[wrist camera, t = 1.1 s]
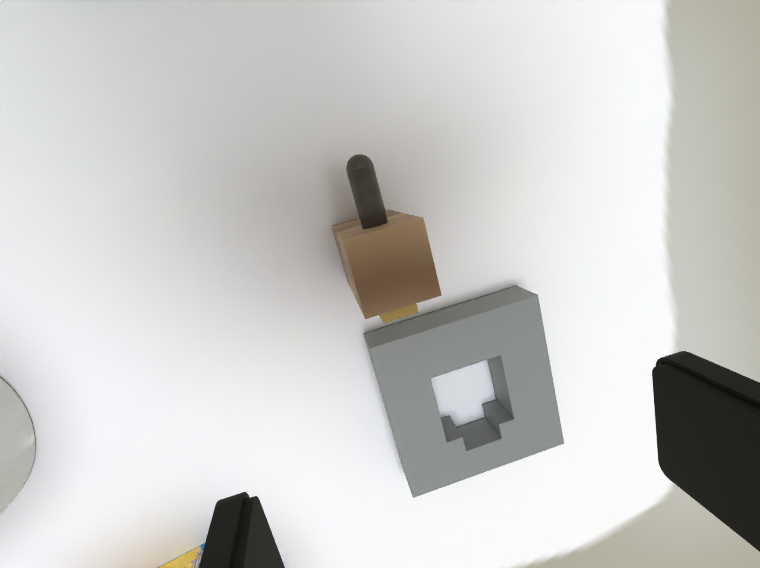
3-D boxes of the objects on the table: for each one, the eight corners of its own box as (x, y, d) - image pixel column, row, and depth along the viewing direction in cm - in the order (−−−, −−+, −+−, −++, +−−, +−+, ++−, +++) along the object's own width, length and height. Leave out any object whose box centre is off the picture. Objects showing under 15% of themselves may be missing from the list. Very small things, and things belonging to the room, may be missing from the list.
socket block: (363, 333, 31) (369, 348, 28) (516, 285, 32) (537, 295, 29) (403, 471, 34) (412, 497, 31) (542, 422, 35) (564, 443, 32)
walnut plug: (315, 171, 28) (319, 161, 19) (374, 155, 28) (404, 138, 19) (352, 297, 30) (371, 341, 21) (406, 281, 30) (446, 317, 22)
